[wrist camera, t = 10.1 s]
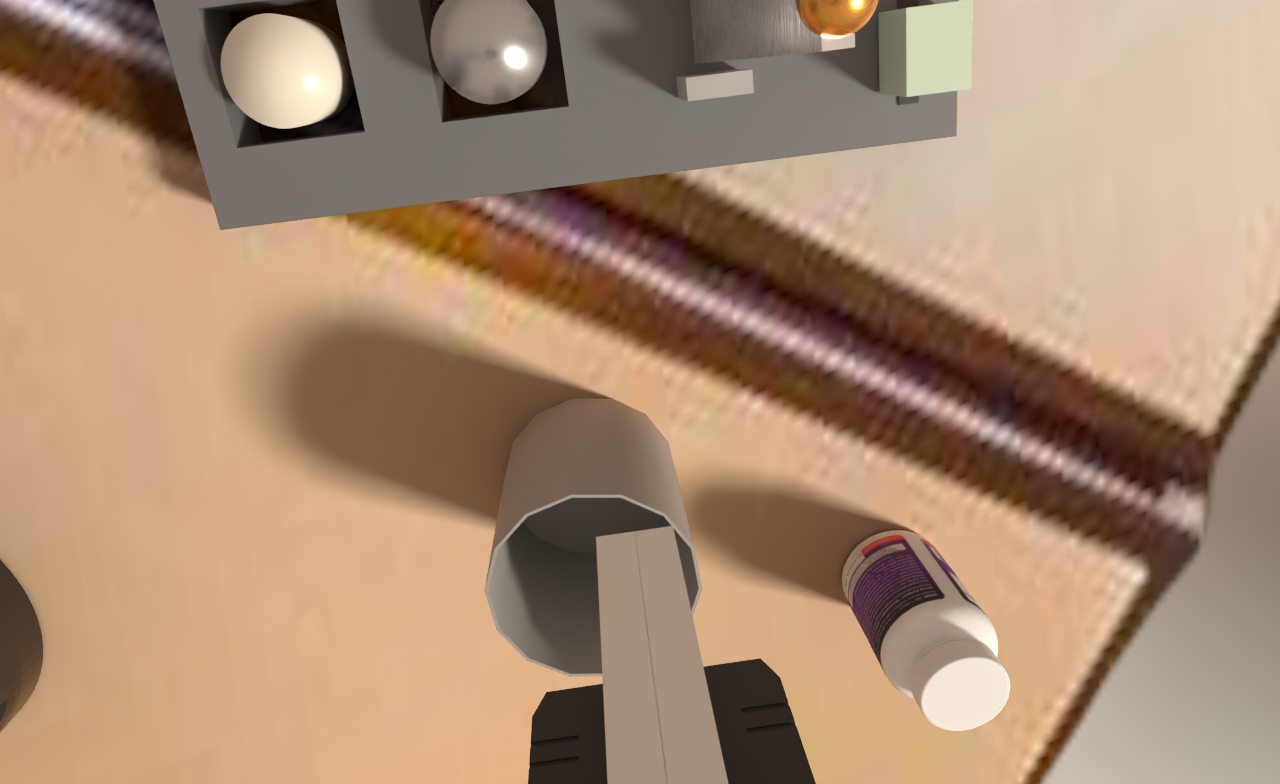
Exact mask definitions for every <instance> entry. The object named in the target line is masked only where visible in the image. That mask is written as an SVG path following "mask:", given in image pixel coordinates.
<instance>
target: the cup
mask: <svg viewBox="0 0 1280 784" xmlns="http://www.w3.org/2000/svg"><path fill="white" fill-rule="evenodd" d="M668 526H673V528H674V533H675V538H676V542H677V547H678V552H679V556H680V561H681V566H682V570H683V575H684V580H685V584H686V589H687V594H688V598H689V603H690V607H691V612H692V617H693V614H694V611H695V608H696V605H697V602H698V599H699V596H700V593H701V590H702V586H701V580H700V575H699V570H698V565H697V560H696V554H695V549H694V545H693V541H692V537H691V533H690V529H689V524H688V520H687V516H686V512H685V508H684V504H683V500H682V496H681V492H680V488H679V484H678V480H677V475H676V471H675V467H674V463H673V459H672V455H671V451H670V447H669V443H668V441H667V440H666V439H665V437H664V436H663V435H662V434H661V432H660V431H659V430H658V429H657V427H656V426H655V425H654V424H653V423H652V421H651V420H650V419H649V418H648V416H647V415H646V414H644V413H642V412H640V411H638V410H636V409H633V408H631V407H629V406H627V405H625V404H623V403H620V402H618V401H616V400H614V399H612V398H571V399H569V400H566V401H564V402H562V403H560V404H557V405H555V406H553V407H550V408H548V409H546V410H544V411H541V412H539V413H537V414H536V415H535V416H534V417H533V418H532V420H531V421H530V422H529V423H528V424H527V425H526V426H525V428H524V429H523V430H522V431H521V432H520V433H519V435H518V436H517V437H516V438H515V439H514V440H513V442H512V447H511V451H510V455H509V459H508V464H507V468H506V472H505V477H504V482H503V488H502V494H501V500H500V505H499V511H498V517H497V523H496V528H495V534H494V540H493V546H492V551H491V557H490V563H489V569H488V574H487V580H486V586H485V593H486V596H487V599H488V603H489V606H490V609H491V613H492V616H493V619H494V622H495V626H496V629H497V631H498V632H499V633H500V634H501V635H502V636H503V637H504V638H505V639H506V640H507V641H508V642H509V643H510V644H511V645H512V646H513V647H514V648H515V649H516V650H517V651H518V652H519V653H520V654H521V655H522V656H523V657H524V658H525V659H526V660H527V661H530V662H533V663H535V664H538V665H541V666H543V667H546V668H549V669H551V670H554V671H557V672H559V673H562V674H564V675H567V676H603V675H602V654H601V633H600V611H599V590H598V569H597V547H596V537H599V536H606V535H613V534H620V533H627V532H633V531H640V530H647V529H654V528H661V527H668Z"/></svg>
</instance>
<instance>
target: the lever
mask: <svg viewBox="0 0 1280 784" xmlns="http://www.w3.org/2000/svg"><path fill="white" fill-rule="evenodd" d="M877 4H878V0H690V9H691V20H692V32H693V43H694V55H695V64H699V63H709V62H719V61H730V60H740V59H750V58H761V57H771V56H781V55H792V54H802V53H812V52H823V51H830V50H838V49H845V48H853V47H855V32H857V31H858V30H860V29H861V28H862V27H863V26H864V25H865V24H866V23H867V22H868V21H869V20H870V18H871V17H872V15H873V13H874V11H875V9H876V7H877Z"/></svg>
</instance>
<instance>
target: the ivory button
mask: <svg viewBox="0 0 1280 784" xmlns="http://www.w3.org/2000/svg"><path fill="white" fill-rule="evenodd" d="M221 72H222V77H223V81H224V84H225V87H226V89H227V91H228V93H229V95H230V96H231V98H232V99H233V101H234V102H235V103H236V105H237V106H238V107H239V108H240V109H241V110H242V111H243V112H244V113H245V114H247V115H248V116H249V117H250V118H252V119H254V120H255V121H257V122H259V123H261V124H263V125H266V126H269V127H274V128H282V129H288V128H295V127H300V126H305V125H309V124H314V123H318V122H323V121H326V120H329V119H331V118H333V117H335V116H336V115H337V114H339V113H340V112H341V111H342V110H343V109H344V108H345V107H346V105H347V104H348V102H349V100H350V99H351V96H352V94H353V90H354V86H355V84H354V80H353V75H352V71H351V66H350V62H349V57H348V53H347V48H346V46H345V44H344V43H343V42H342V40H341V39H340V38H339V37H338V36H337V35H336V34H335V33H334V32H333V31H332V30H330V29H329V28H327V27H326V26H324V25H322V24H320V23H318V22H315V21H313V20H308V19H303V18H298V17H292V16H286V15H280V14H272V13H266V14H258V15H254V16H251V17H249V18H247V19H245V20H243V21H241V22H240V23H239V24H238V25H236V26H235V27H234V28H233V29H232V31H231V32H230V34H229V35H228V37H227V39H226V41H225V43H224V46H223V49H222V54H221Z"/></svg>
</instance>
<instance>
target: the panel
mask: <svg viewBox="0 0 1280 784" xmlns="http://www.w3.org/2000/svg"><path fill="white" fill-rule="evenodd" d="M153 1H154V4H155V8H156V11H157V15H158V18H159V21H160V25H161V28H162V32H163V35H164V39H165V42H166V45H167V49H168V52H169V56H170V59H171V63H172V66H173V69H174V73H175V76H176V80H177V83H178V87H179V90H180V93H181V97H182V100H183V104H184V107H185V111H186V114H187V117H188V121H189V124H190V128H191V131H192V135H193V138H194V141H195V145H196V148H197V152H198V155H199V159H200V162H201V165H202V169H203V172H204V176H205V179H206V183H207V186H208V189H209V193H210V196H211V200H212V203H213V207H214V210H215V213H216V217H217V220H218V224H219V227H220V230H224V229H232V228H240V227H247V226H255V225H263V224H271V223H279V222H287V221H294V220H302V219H310V218H318V217H326V216H334V215H341V214H349V213H357V212H365V211H373V210H381V209H388V208H396V207H404V206H412V205H420V204H428V203H435V202H443V201H451V200H459V199H467V198H475V197H483V196H490V195H498V194H506V193H514V192H522V191H530V190H537V189H545V188H553V187H561V186H569V185H577V184H584V183H592V182H600V181H608V180H616V179H624V178H631V177H639V176H647V175H655V174H663V173H671V172H678V171H686V170H694V169H702V168H710V167H718V166H725V165H733V164H741V163H749V162H757V161H765V160H772V159H780V158H788V157H796V156H804V155H812V154H819V153H827V152H835V151H843V150H851V149H859V148H866V147H874V146H882V145H890V144H898V143H906V142H913V141H921V140H929V139H937V138H945V137H953V136H956V126H957V91H950V92H942V93H934V94H927V95H919V96H911V97H901V96H891V95H880V84H879V17H878V13H880V12H885V11H891V10H897V9H902V8H909V7H917V6H925V5H933V4H941V3H949V2H957V1H958V0H878V4H877V7H876V9H875V11H874V13H873V15H872V17H871V18H870V20H869V21H868V22H867V23H866V24H865V25H864V26H863V27H862V28H861V29H860V30H858V31H857V32H855V47H853V48H845V49H838V50H830V51H823V52H812V53H802V54H792V55H781V56H771V57H761V58H750V59H740V60H730V61H719V62H709V63H699V64H695V55H694V43H693V32H692V20H691V9H690V0H554V2H555V9H556V17H557V24H558V31H559V38H560V45H561V53H562V60H563V67H564V74H565V82H566V89H567V96H568V103H569V104H561V105H553V106H545V107H537V108H529V109H521V110H513V111H505V112H497V113H489V114H481V115H473V116H465V117H457V118H452V115H451V109H450V104H449V98H448V93H447V88H446V82H445V80H444V79H443V77H442V76H441V74H440V73H439V71H438V69H437V67H436V64H435V62H434V59H433V55H432V50H431V28H432V24H433V20H434V18H433V12H432V7H431V2H430V0H336V3H337V7H338V12H339V16H340V21H341V26H342V30H343V35H344V39H345V44H346V48H347V53H348V57H349V62H350V66H351V71H352V75H353V80H354V84H355V89H356V93H357V98H358V102H359V107H360V111H361V116H362V120H363V125H364V129H362V130H354V131H346V132H338V133H330V134H322V135H314V136H306V137H298V138H290V139H282V140H274V141H266V142H263V141H262V137H261V133H260V129H259V125H258V122H257V121H255V120H254V119H252V118H250V117H249V116H248V115H247V114H245V113H244V112H243V111H242V110H241V109H240V108H239V107H238V106H237V105H236V103H235V102H234V101H233V99H232V98H231V96H230V95H229V93H228V91H227V89H226V87H225V84H224V81H223V77H222V72H221V54H222V49H223V46H224V43H225V41H226V39H227V37H228V35H229V34H230V32H231V31H232V29H233V27H232V23H231V19H230V16H229V13H234V12H242V11H250V10H259V9H267V8H275V7H283V6H291V5H300V4H308V3H316V2H324V1H332V0H153Z"/></svg>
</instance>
